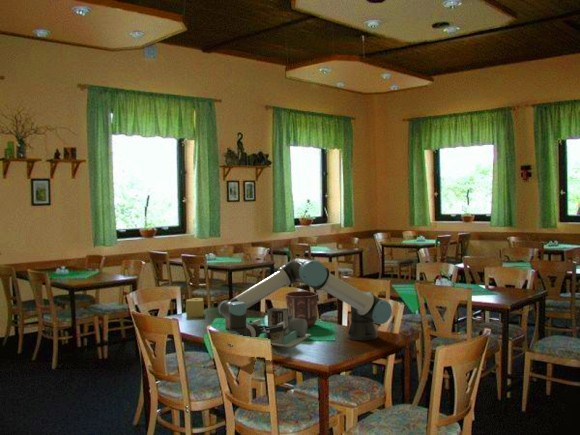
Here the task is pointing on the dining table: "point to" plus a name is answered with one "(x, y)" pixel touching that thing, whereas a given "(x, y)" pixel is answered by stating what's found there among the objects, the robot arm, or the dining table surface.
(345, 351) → the dining table surface
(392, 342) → the dining table surface
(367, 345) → the dining table surface
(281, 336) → the coffee box
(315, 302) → the pottery
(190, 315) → the cheese
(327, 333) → the dining table surface
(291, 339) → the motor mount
